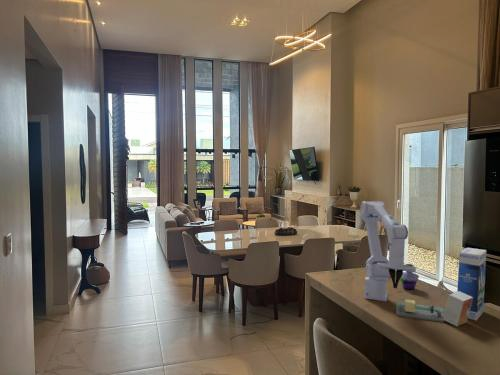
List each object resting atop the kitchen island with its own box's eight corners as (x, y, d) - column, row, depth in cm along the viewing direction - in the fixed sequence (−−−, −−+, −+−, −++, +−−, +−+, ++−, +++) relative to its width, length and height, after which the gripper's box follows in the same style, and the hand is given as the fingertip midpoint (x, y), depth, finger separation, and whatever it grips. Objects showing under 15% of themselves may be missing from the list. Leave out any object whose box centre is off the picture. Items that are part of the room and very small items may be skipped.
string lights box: (476, 321, 140) (480, 255, 138) (454, 315, 145) (458, 252, 143) (483, 311, 150) (487, 249, 148) (462, 306, 155) (466, 246, 153)
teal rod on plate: (396, 315, 144) (396, 303, 144) (395, 308, 152) (396, 296, 151) (444, 322, 138) (445, 310, 138) (441, 314, 146) (442, 302, 145)
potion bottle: (395, 287, 178) (396, 263, 178) (407, 284, 182) (408, 261, 182) (410, 292, 171) (411, 267, 170) (422, 290, 175) (423, 265, 174)
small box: (457, 327, 134) (463, 301, 132) (442, 319, 139) (448, 294, 137) (467, 322, 139) (474, 297, 137) (452, 314, 143) (458, 290, 141)
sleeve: (405, 311, 145) (405, 302, 145) (404, 307, 148) (405, 299, 148) (414, 312, 144) (415, 303, 144) (414, 309, 147) (414, 300, 147)
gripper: (377, 254, 146) (376, 288, 146) (416, 258, 141) (415, 293, 141) (377, 251, 152) (376, 282, 153) (415, 254, 147) (414, 287, 148)
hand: (395, 287), depth 148 cm, fingers closed
